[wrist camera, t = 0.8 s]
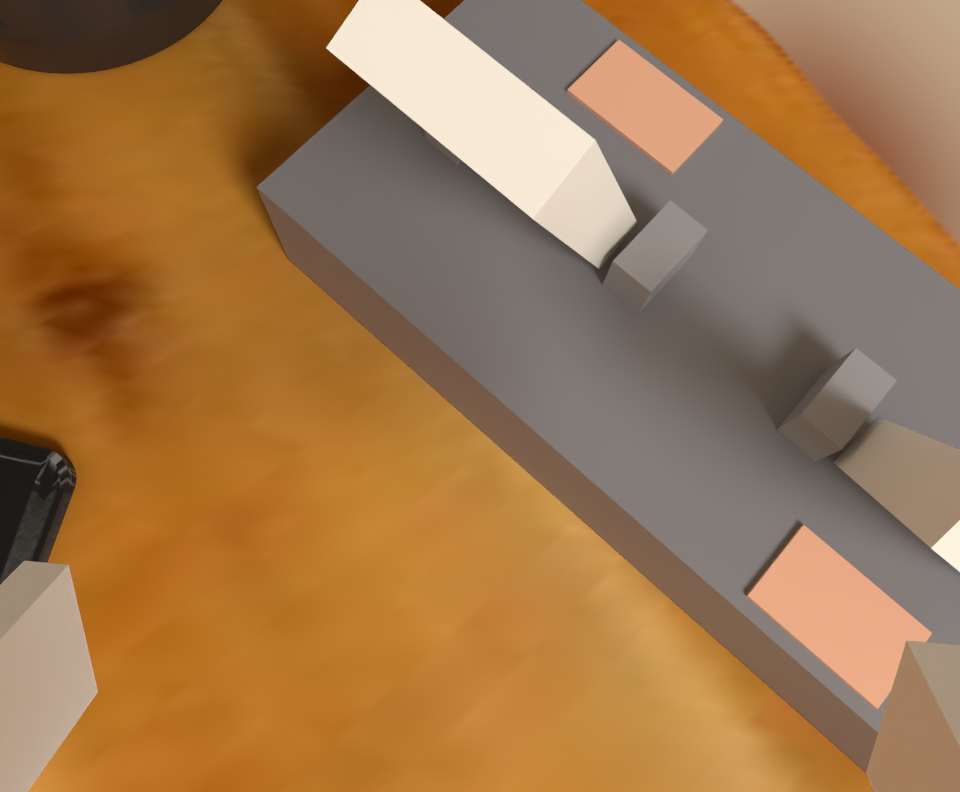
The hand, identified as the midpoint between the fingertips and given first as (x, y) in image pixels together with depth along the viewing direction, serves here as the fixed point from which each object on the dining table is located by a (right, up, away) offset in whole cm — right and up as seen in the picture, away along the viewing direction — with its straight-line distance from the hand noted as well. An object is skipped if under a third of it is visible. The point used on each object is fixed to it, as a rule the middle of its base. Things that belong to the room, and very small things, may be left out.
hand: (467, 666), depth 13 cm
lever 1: (+3, +11, +17) cm, 20 cm away
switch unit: (+9, +5, +21) cm, 23 cm away
